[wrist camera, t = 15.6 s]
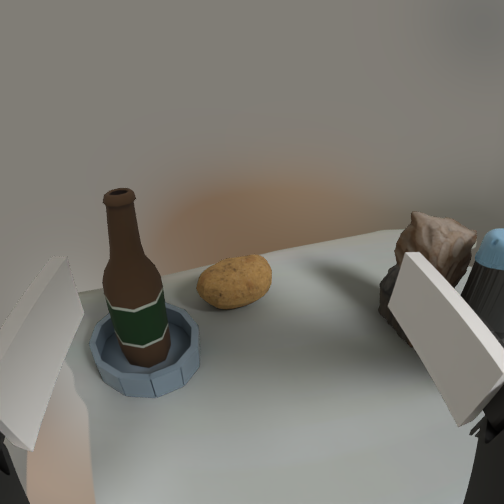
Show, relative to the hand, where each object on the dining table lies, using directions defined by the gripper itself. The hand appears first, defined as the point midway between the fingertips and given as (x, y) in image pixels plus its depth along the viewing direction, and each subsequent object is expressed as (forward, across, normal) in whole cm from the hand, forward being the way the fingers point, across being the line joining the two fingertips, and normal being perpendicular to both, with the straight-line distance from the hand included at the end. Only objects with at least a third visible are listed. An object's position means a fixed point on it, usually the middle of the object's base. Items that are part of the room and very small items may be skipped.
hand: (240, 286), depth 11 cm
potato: (+35, +2, -29) cm, 45 cm away
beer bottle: (+22, -12, -28) cm, 37 cm away
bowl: (+22, -12, -28) cm, 38 cm away
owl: (+26, +33, -29) cm, 51 cm away
